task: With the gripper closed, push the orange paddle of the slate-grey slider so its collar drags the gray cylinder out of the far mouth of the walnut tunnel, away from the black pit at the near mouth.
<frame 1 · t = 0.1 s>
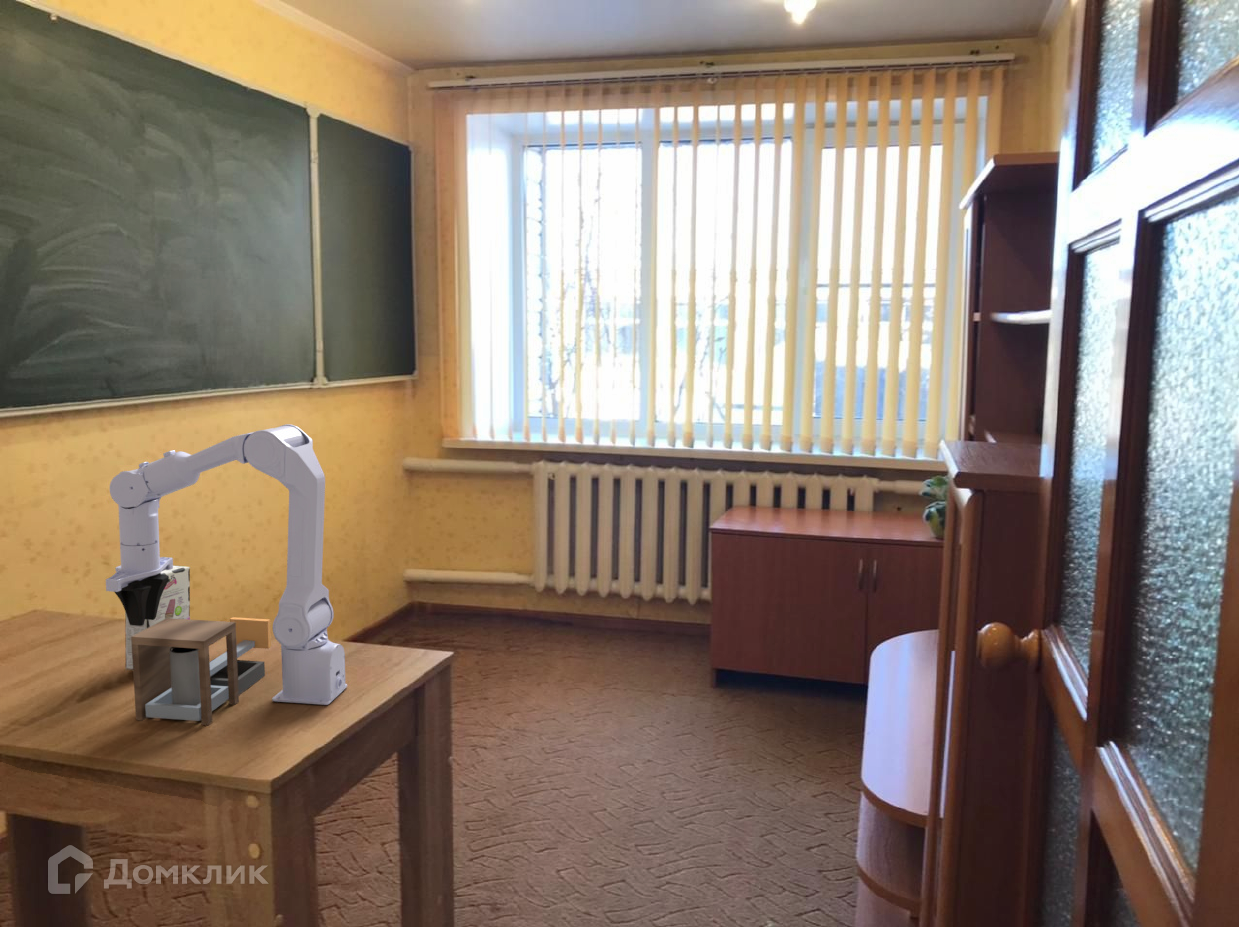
hand: (142, 621, 154), 11 cm above the table, tool pointing down, fingers closed
tunnel: (188, 710, 145), on the table
slider: (214, 664, 152), point 4 cm above the table, slide at 0.0 cm
candy bar box: (157, 663, 164), on the table, touching gripper
gray cylinder: (188, 711, 145), resting in slider
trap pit: (226, 683, 156), on the table
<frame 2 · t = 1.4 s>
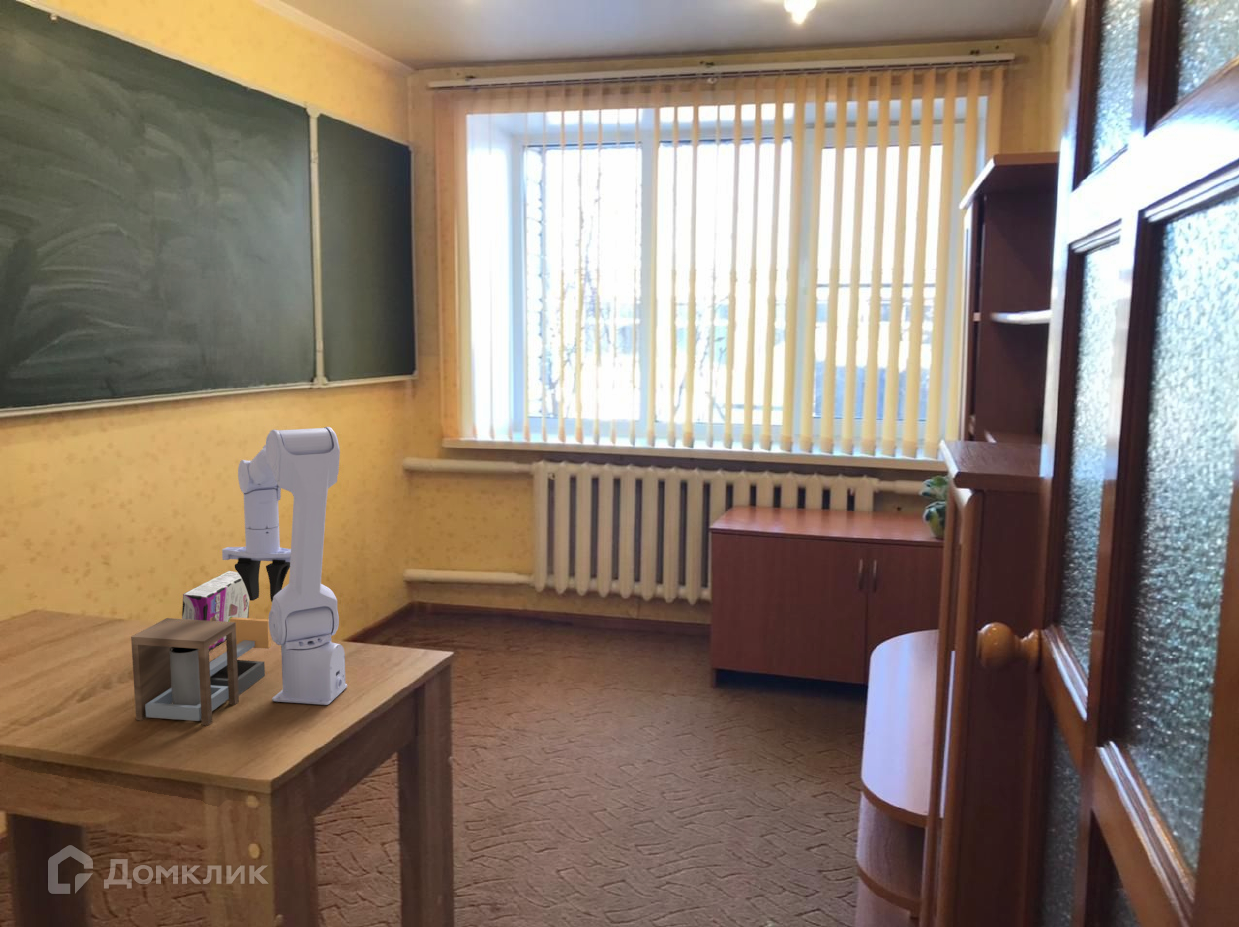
hand: (264, 599, 168), 10 cm above the table, tool pointing down, fingers open, 3 cm apart
candy bar box: (191, 624, 168), point 6 cm above the table
everything else where it was.
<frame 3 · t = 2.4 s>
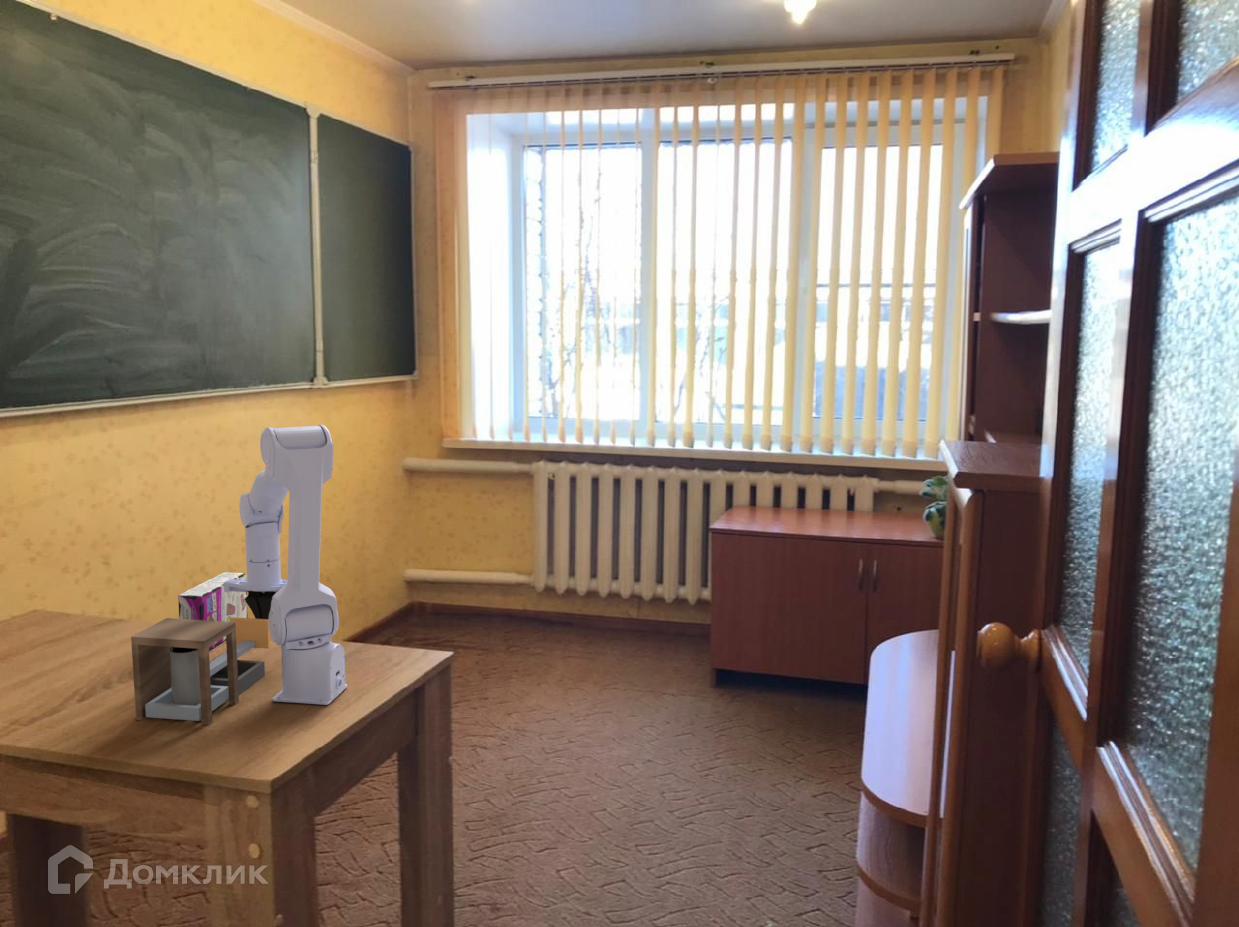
hand: (266, 631, 169), 4 cm above the table, tool pointing down, fingers closed
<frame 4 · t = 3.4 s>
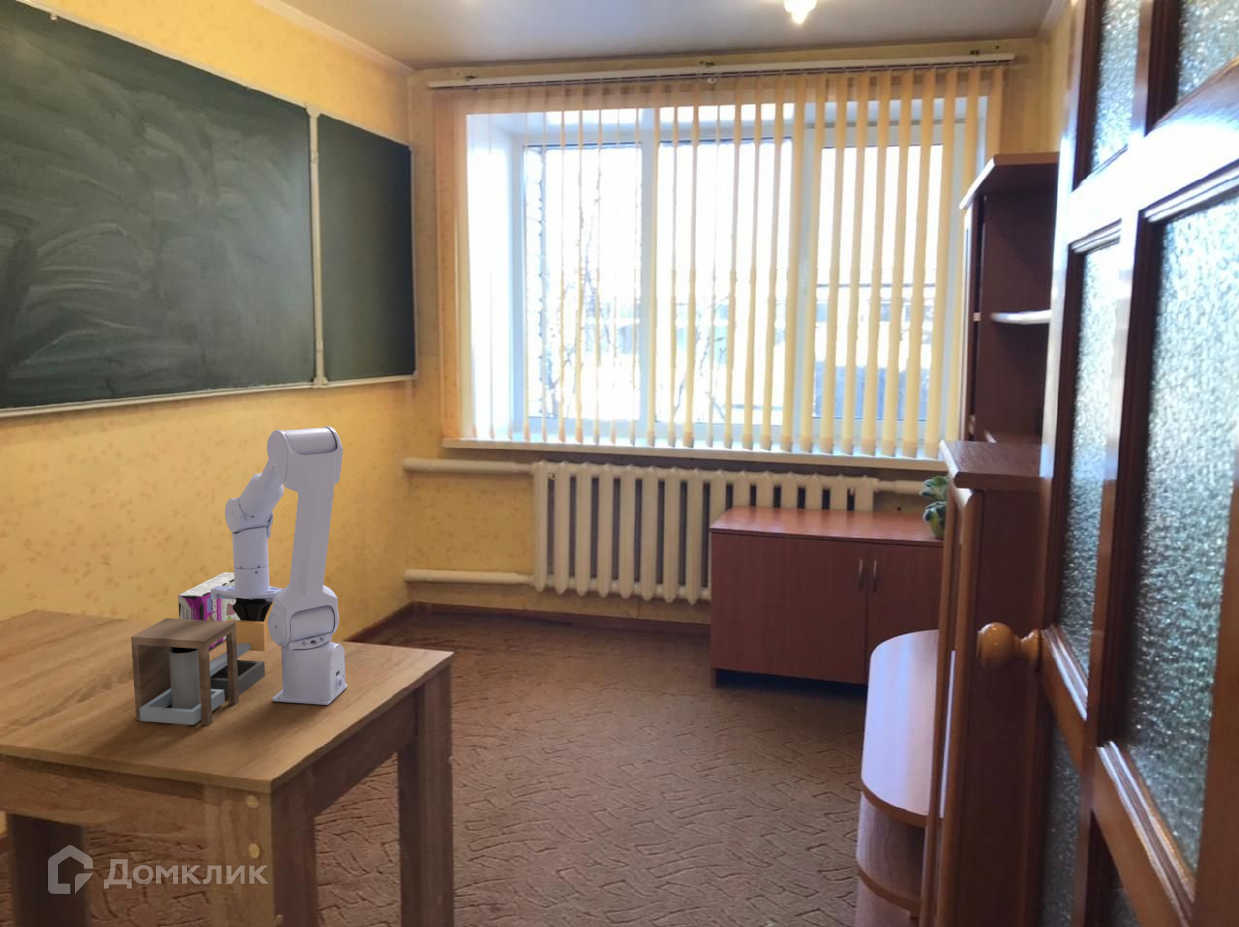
hand: (254, 639, 165), 4 cm above the table, tool pointing down, fingers closed, pressing on slider
slider: (210, 667, 151), point 4 cm above the table, slide at 1.4 cm, touching gripper, gray cylinder
gray cylinder: (188, 712, 145), resting in slider
everything else where it was.
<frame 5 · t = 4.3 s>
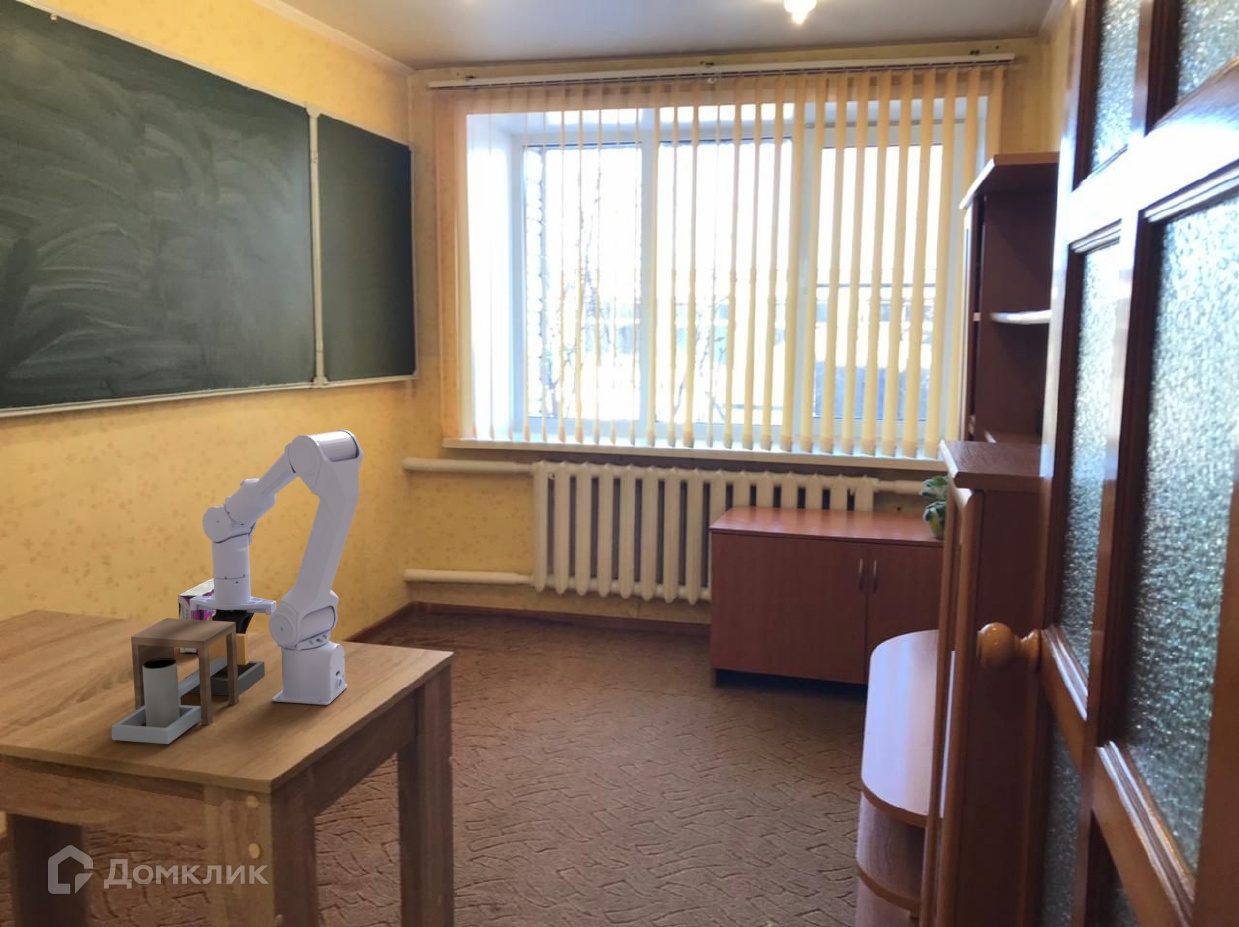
hand: (235, 652, 159), 4 cm above the table, tool pointing down, fingers closed, pressing on slider
slider: (187, 683, 145), point 4 cm above the table, slide at 7.9 cm, touching gripper, gray cylinder
gray cylinder: (163, 729, 139), resting in slider
everything else where it was.
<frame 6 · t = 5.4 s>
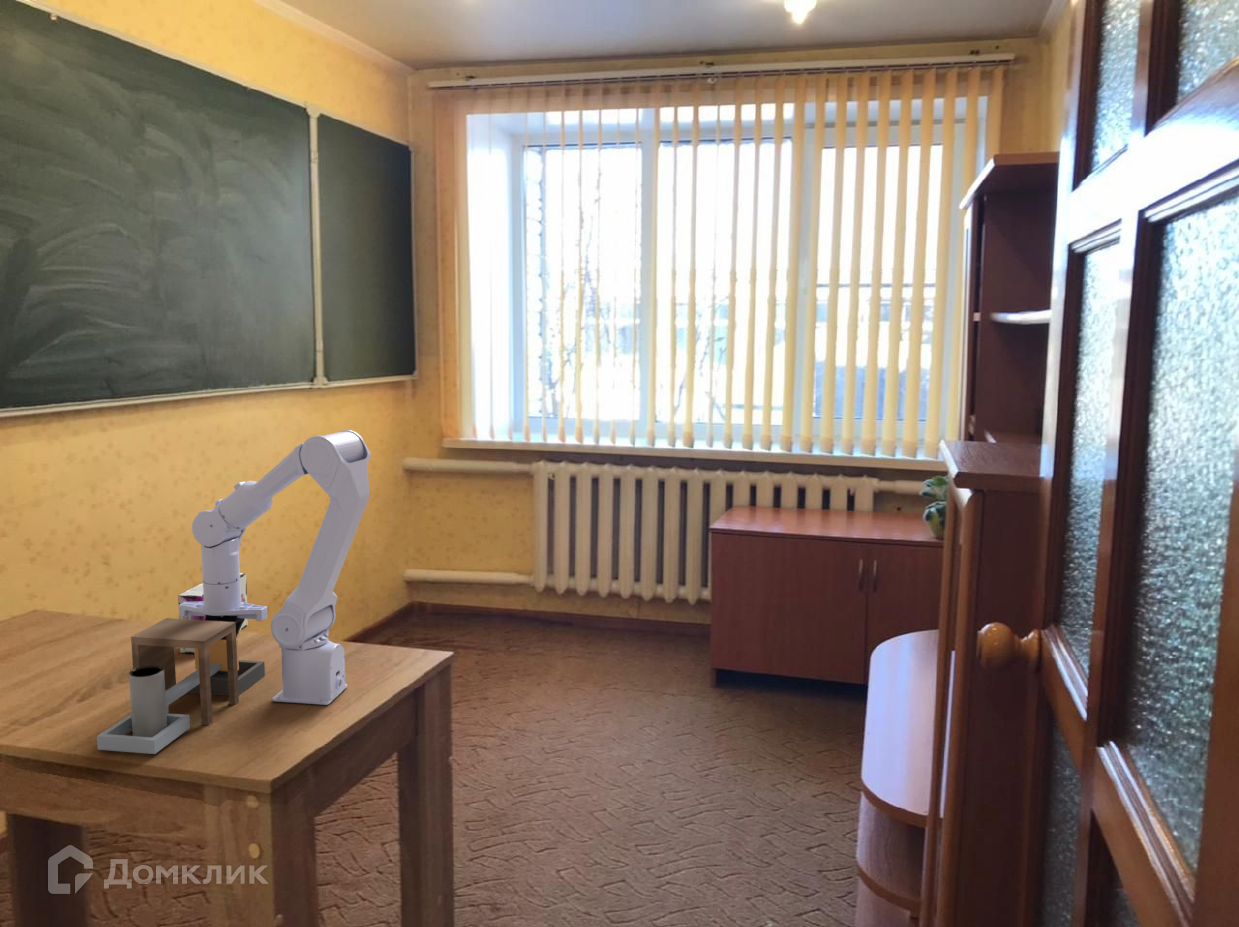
hand: (225, 658, 156), 4 cm above the table, tool pointing down, fingers closed, pressing on slider
slider: (175, 690, 142), point 4 cm above the table, slide at 11.0 cm, touching gripper, gray cylinder
gray cylinder: (150, 739, 136), resting in slider
everything else where it was.
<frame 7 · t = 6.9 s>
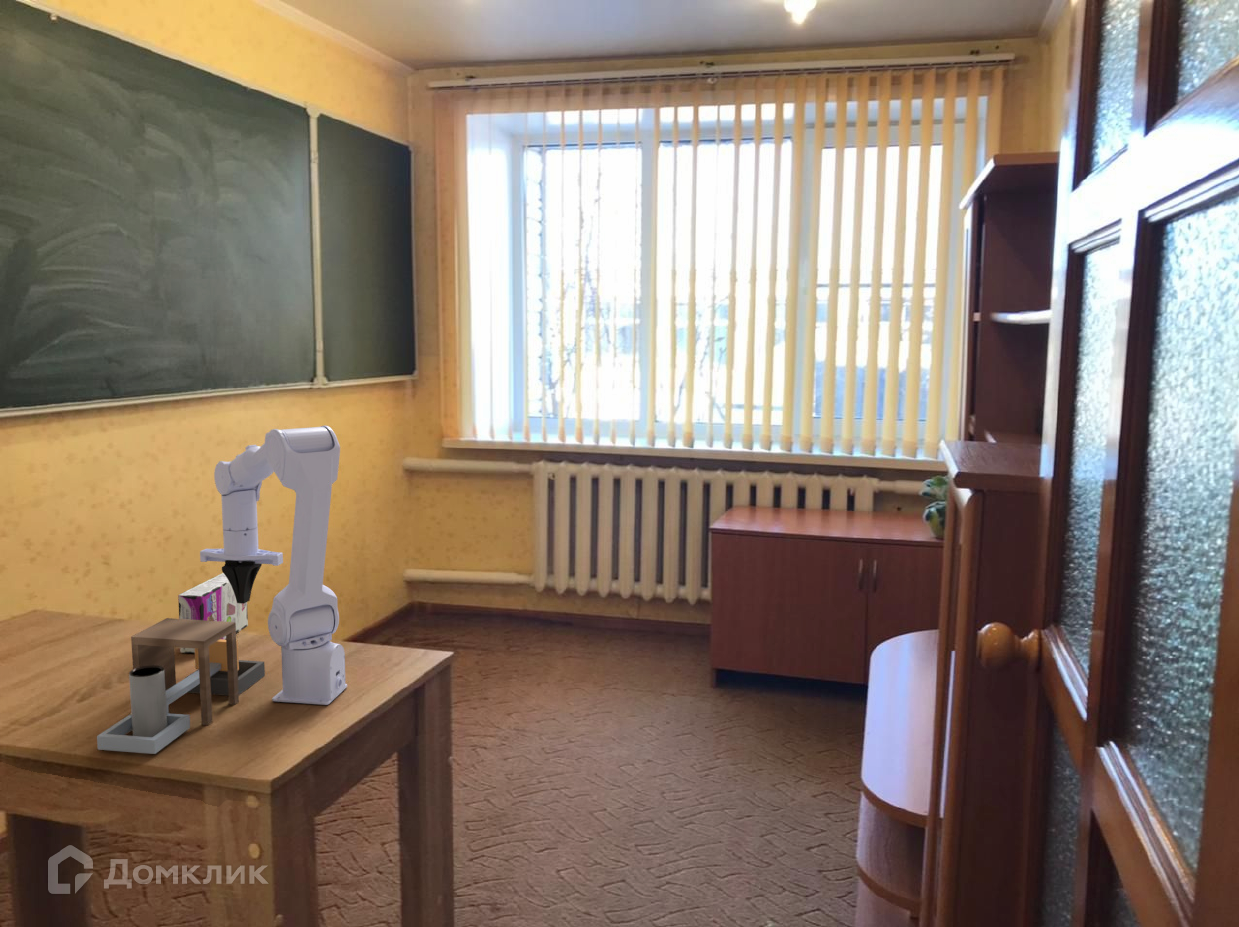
hand: (243, 601, 167), 10 cm above the table, tool pointing down, fingers closed
slider: (175, 690, 142), point 4 cm above the table, slide at 11.0 cm
gray cylinder: (150, 739, 136), resting in slider
everything else where it was.
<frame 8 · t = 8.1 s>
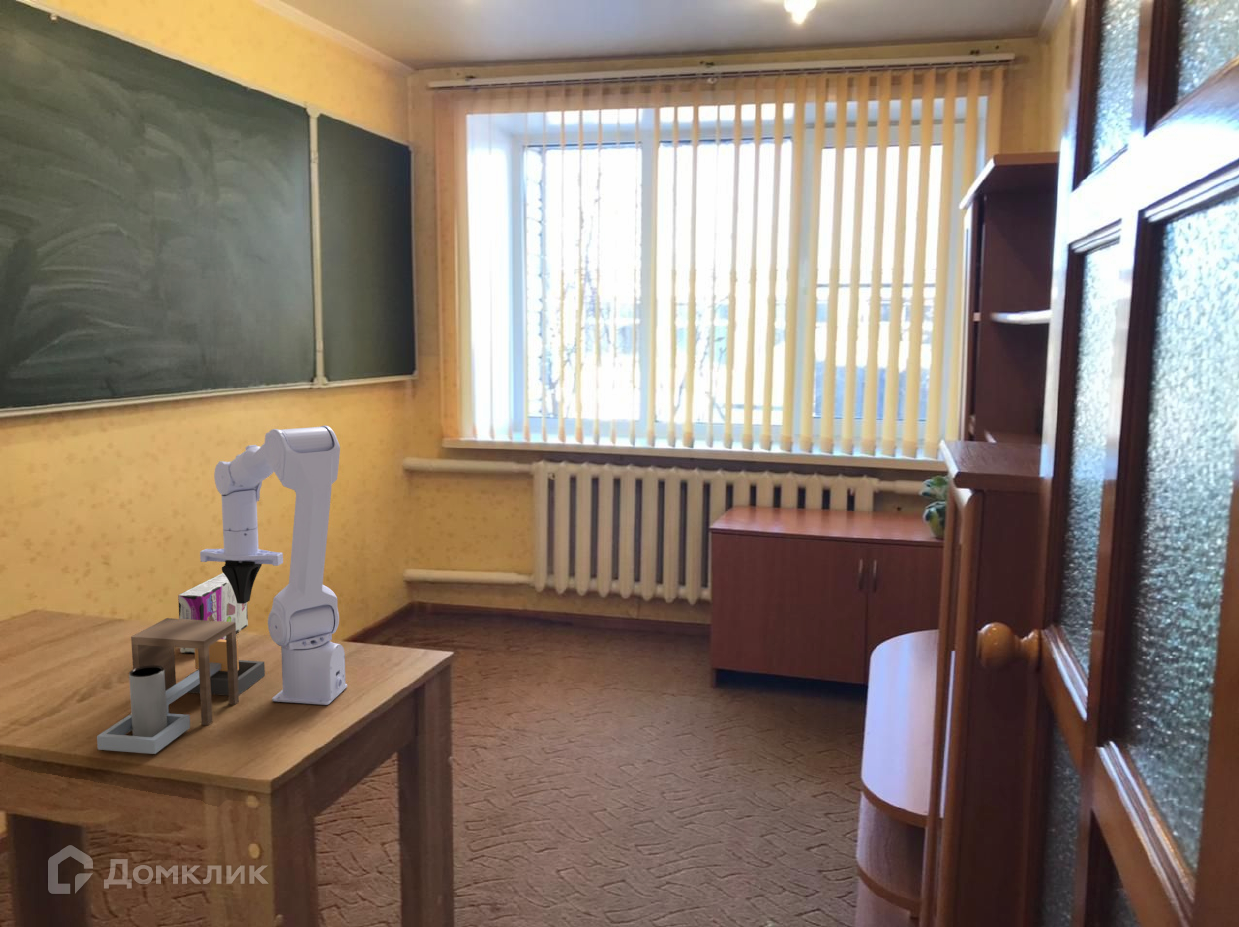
hand: (243, 601, 167), 10 cm above the table, tool pointing down, fingers closed
nothing on the table moved.
at the end: gray cylinder inside the target area (0.7 cm from its centre), resting in slider; gray cylinder tilted 0°; slider slide at 11.0 cm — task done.
